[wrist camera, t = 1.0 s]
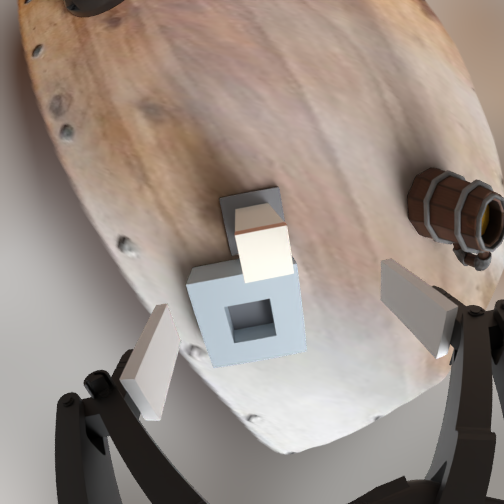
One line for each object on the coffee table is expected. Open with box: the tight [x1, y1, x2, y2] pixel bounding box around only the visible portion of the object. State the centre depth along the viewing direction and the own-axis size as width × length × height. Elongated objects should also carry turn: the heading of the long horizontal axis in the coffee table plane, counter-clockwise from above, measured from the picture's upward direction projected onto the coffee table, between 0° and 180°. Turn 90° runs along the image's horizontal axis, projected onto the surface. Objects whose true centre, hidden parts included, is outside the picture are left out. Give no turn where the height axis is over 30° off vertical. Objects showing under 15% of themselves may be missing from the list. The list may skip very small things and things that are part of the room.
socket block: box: [186, 256, 307, 368], centre depth 39 cm, size 14×14×6 cm
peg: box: [235, 203, 294, 283], centre depth 30 cm, size 4×4×14 cm
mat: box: [219, 187, 285, 256], centre depth 37 cm, size 8×8×1 cm
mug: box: [407, 168, 504, 271], centre depth 32 cm, size 16×12×15 cm
